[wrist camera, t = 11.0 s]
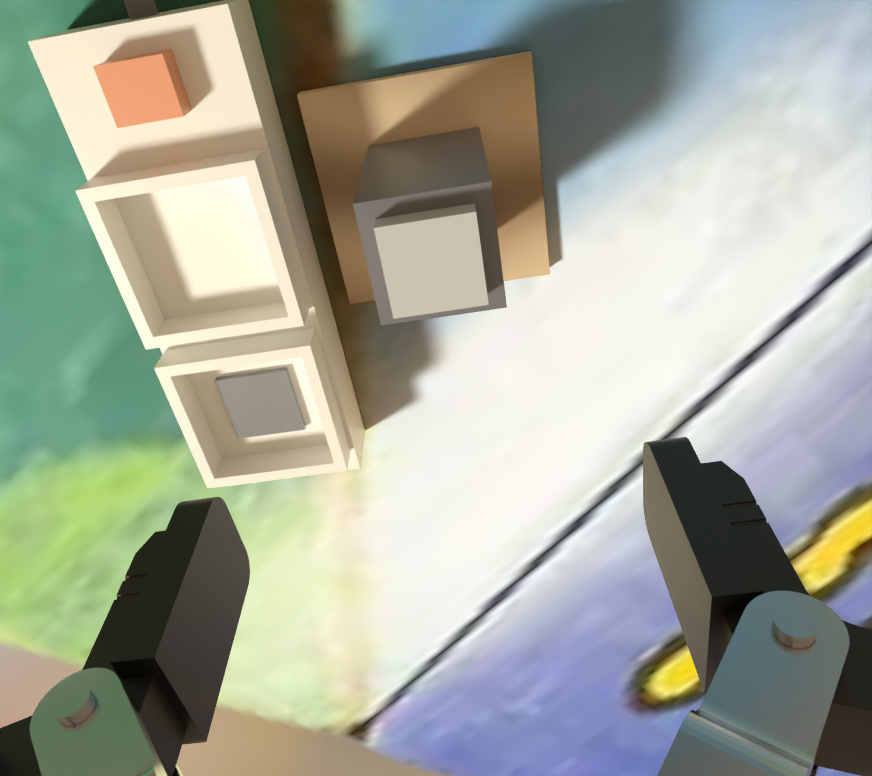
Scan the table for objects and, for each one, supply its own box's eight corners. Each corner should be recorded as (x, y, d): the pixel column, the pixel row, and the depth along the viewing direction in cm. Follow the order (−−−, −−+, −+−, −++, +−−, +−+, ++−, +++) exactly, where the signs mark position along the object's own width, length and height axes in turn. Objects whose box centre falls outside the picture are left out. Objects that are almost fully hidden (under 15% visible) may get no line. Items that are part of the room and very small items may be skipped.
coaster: (299, 91, 28) (296, 94, 27) (530, 50, 27) (532, 53, 27) (351, 298, 33) (350, 304, 32) (548, 268, 32) (549, 274, 32)
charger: (368, 145, 28) (350, 212, 22) (479, 126, 28) (493, 189, 22) (390, 248, 31) (379, 336, 24) (492, 232, 30) (508, 318, 24)
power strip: (14, -98, 25) (-62, -102, 21) (210, -139, 24) (169, -150, 20) (234, 448, 38) (211, 508, 34) (365, 431, 37) (357, 489, 33)
